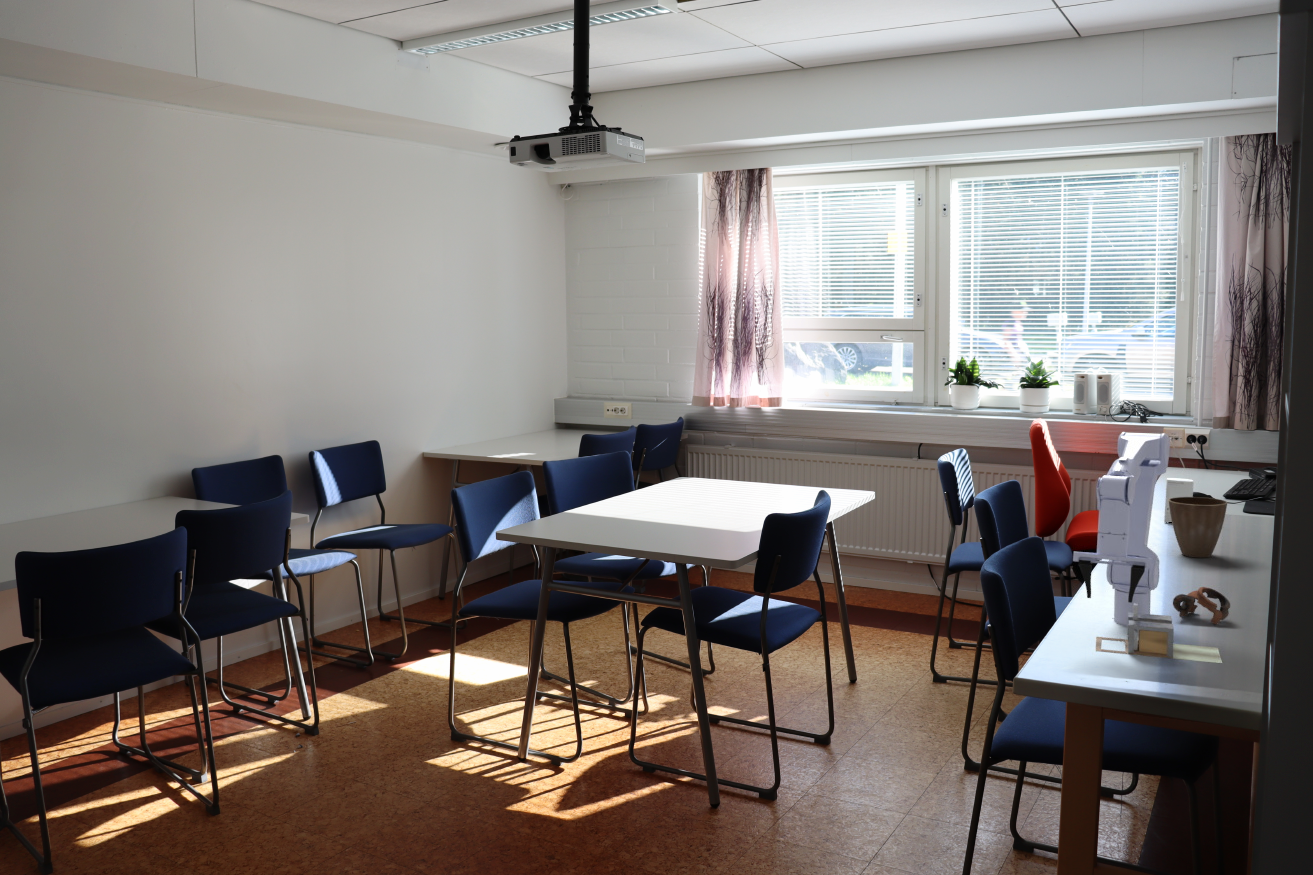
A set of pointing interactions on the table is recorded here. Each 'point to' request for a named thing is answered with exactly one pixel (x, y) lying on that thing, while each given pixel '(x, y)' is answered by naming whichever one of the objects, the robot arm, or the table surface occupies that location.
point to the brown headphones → (1202, 603)
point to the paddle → (1135, 618)
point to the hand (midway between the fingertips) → (1109, 599)
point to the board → (1178, 651)
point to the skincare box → (1176, 492)
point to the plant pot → (1197, 524)
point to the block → (1153, 641)
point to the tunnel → (1151, 629)
